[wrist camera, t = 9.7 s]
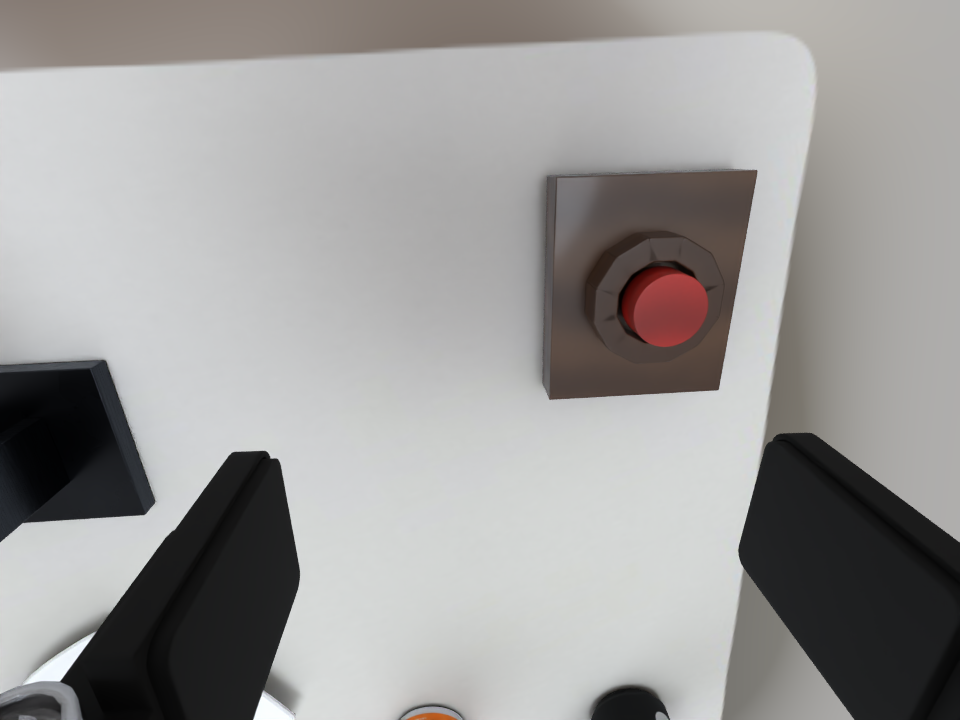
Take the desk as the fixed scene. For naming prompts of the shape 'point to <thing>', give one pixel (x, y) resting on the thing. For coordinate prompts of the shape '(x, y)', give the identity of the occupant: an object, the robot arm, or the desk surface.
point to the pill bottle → (432, 714)
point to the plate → (269, 714)
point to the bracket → (65, 447)
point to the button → (664, 306)
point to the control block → (620, 258)
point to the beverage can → (630, 706)
